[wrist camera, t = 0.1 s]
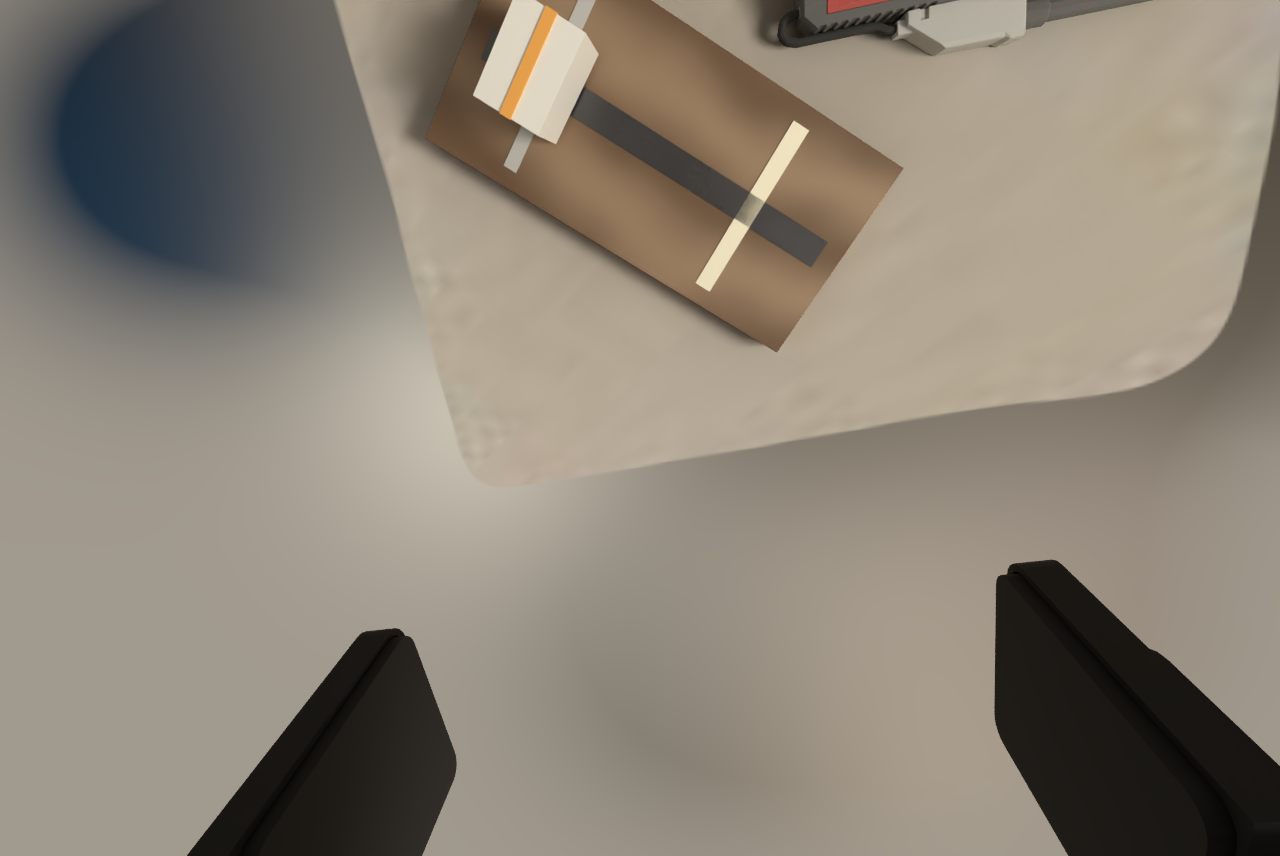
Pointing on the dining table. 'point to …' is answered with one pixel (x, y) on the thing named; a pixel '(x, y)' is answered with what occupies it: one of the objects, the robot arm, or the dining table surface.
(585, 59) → the fader
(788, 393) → the dining table surface
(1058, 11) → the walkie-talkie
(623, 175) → the brown board with strips
